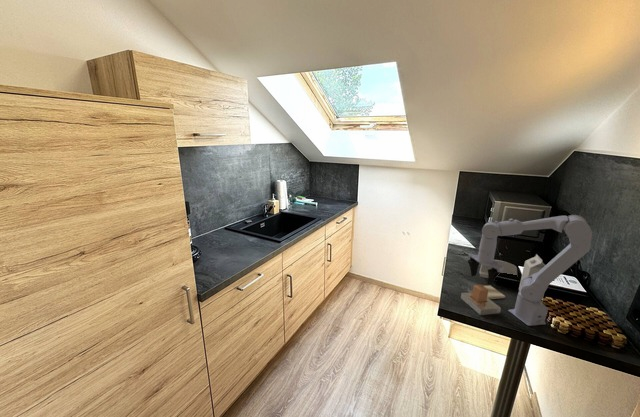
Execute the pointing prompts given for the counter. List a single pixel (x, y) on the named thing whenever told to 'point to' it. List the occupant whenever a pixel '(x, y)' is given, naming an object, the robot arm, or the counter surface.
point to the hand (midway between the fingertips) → (481, 279)
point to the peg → (479, 293)
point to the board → (493, 293)
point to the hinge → (507, 266)
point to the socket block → (481, 305)
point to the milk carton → (531, 268)
